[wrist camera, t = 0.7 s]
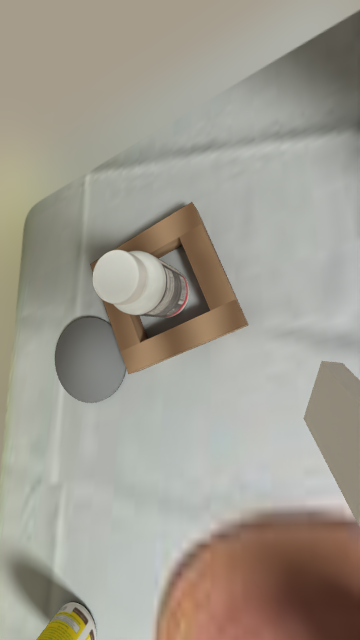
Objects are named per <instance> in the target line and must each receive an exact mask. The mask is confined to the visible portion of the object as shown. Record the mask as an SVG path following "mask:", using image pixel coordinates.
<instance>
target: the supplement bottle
mask: <svg viewBox="0 0 360 640" xmlns="http://www.w3.org/2000/svg"><path fill="white" fill-rule="evenodd" d="M36 640H96V627H95V624H94V621H93V619H92V617H91V615H90V613H89V612H88V611H87V610H86V608H84V607H83V606H82V605H81V604H78V603H75V602H70V603H67V604H65V605H63V606H62V607H61V608H60V610H59V611H58V612H57V613H56V615H55V616H54V617H53V619H52V620H51V621H50V623H49V624H48V625H47V626H46V628H45V629H44V630H43V632H42V633H41V634H40V636H39V637H38V638H37V639H36Z"/></svg>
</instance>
